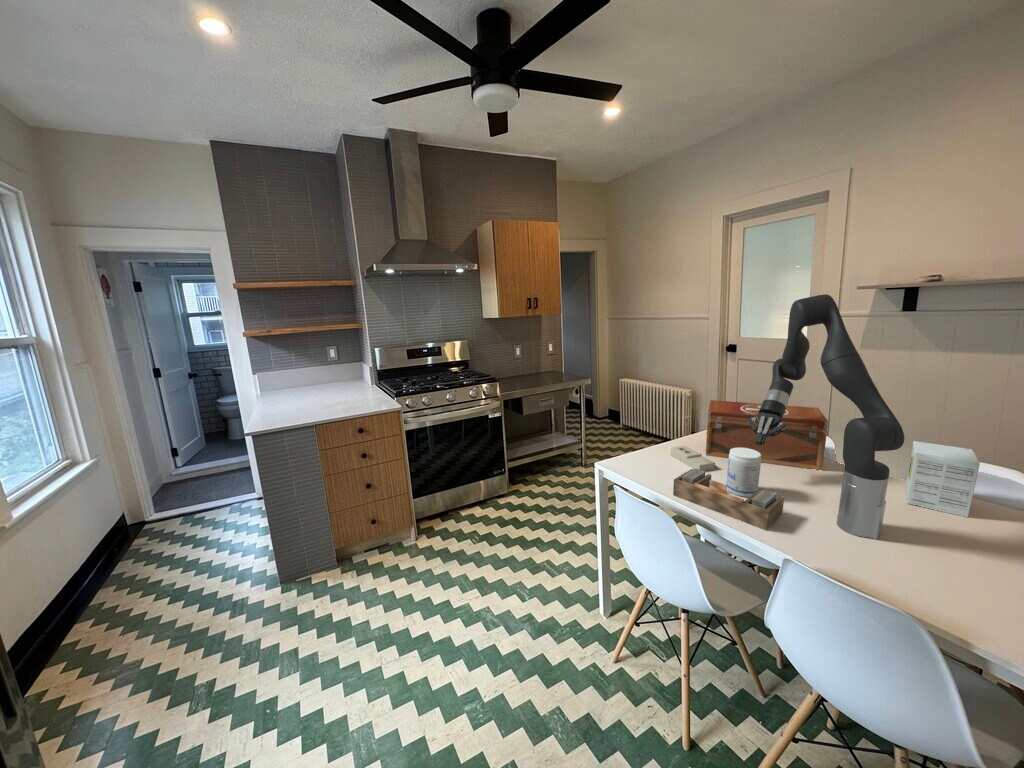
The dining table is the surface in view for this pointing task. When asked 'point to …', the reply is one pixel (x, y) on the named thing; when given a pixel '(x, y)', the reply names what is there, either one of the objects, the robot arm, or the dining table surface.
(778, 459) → the wooden box
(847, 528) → the robot arm
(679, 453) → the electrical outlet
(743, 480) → the supplement tub
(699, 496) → the rack
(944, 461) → the supplement box
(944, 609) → the dining table surface
